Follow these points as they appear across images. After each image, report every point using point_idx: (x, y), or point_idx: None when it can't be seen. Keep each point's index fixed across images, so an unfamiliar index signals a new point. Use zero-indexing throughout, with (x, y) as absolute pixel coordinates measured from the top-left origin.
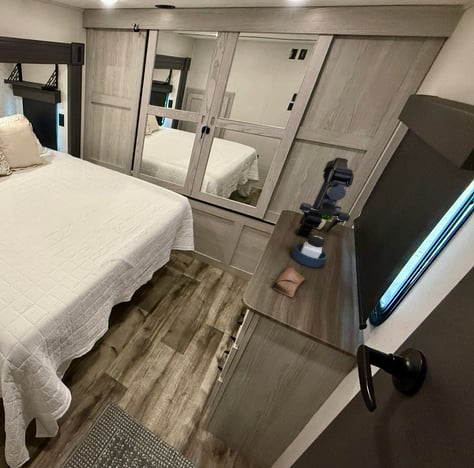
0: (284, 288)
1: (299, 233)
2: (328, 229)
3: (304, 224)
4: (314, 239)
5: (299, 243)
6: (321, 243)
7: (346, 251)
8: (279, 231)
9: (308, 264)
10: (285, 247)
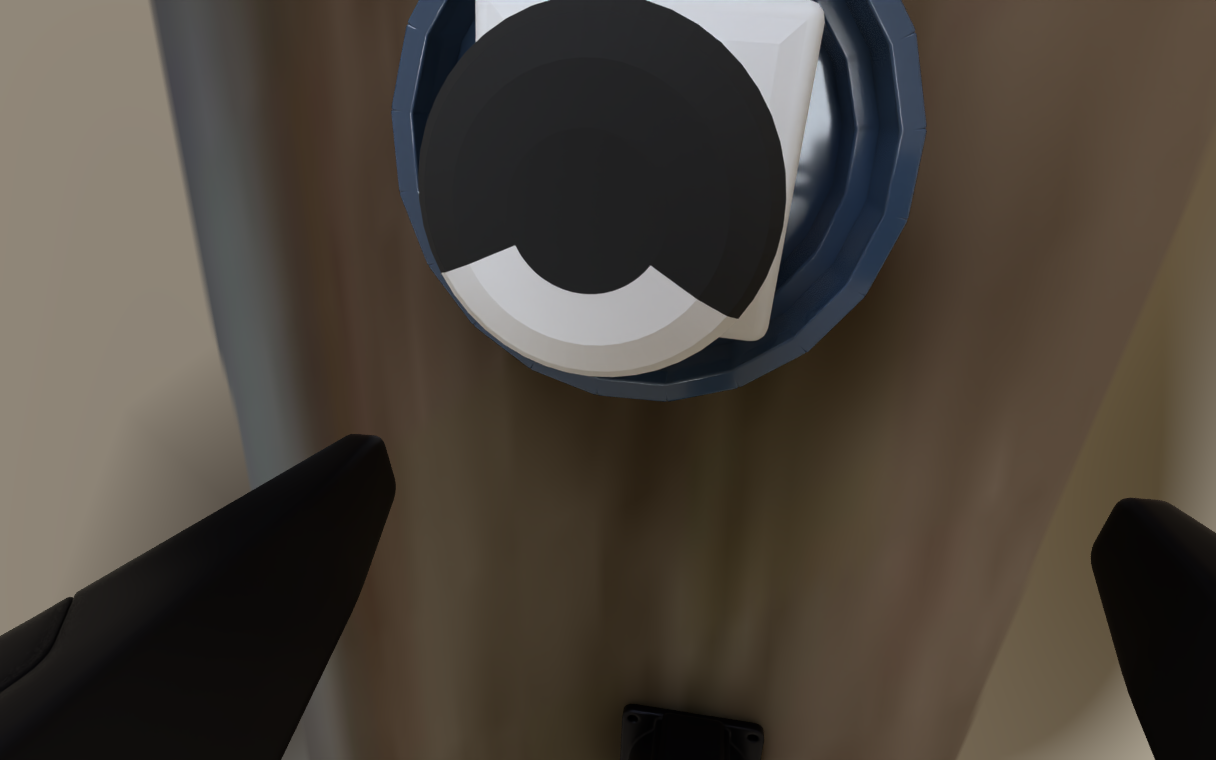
0: None
1: (733, 746)
2: (300, 492)
3: (1192, 537)
4: (677, 67)
5: (825, 333)
6: (484, 43)
7: None
8: (967, 708)
9: None
10: (942, 325)
